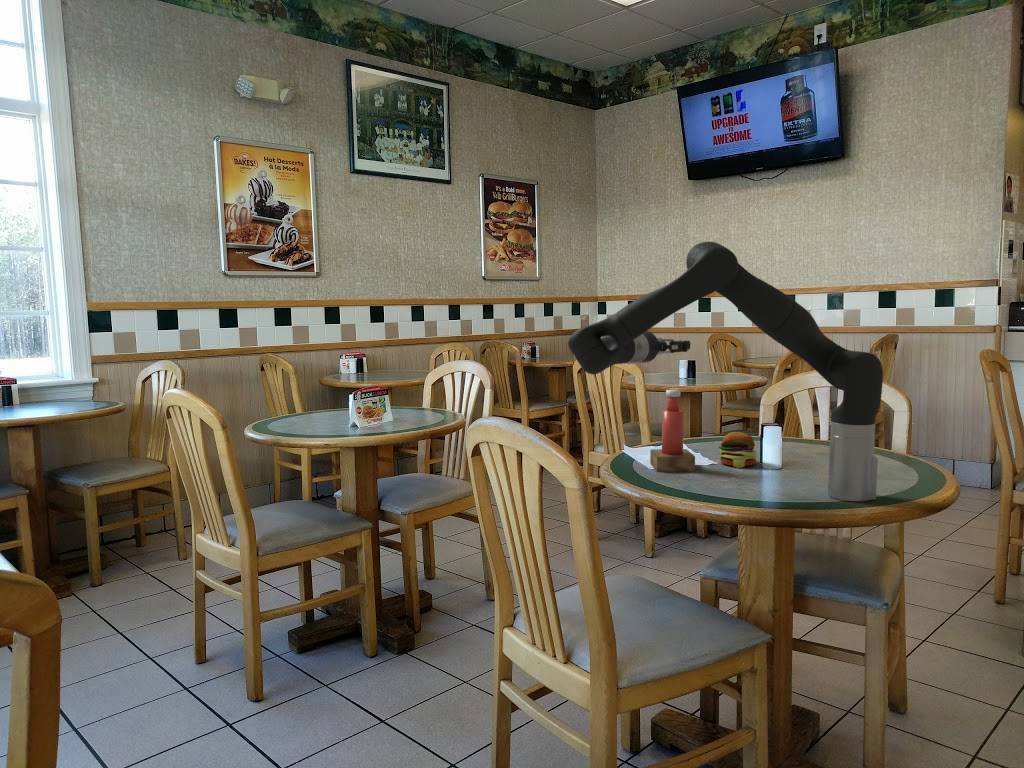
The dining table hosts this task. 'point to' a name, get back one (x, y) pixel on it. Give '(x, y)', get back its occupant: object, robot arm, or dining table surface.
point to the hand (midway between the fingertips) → (673, 344)
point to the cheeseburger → (737, 450)
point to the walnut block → (672, 461)
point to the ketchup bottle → (672, 425)
